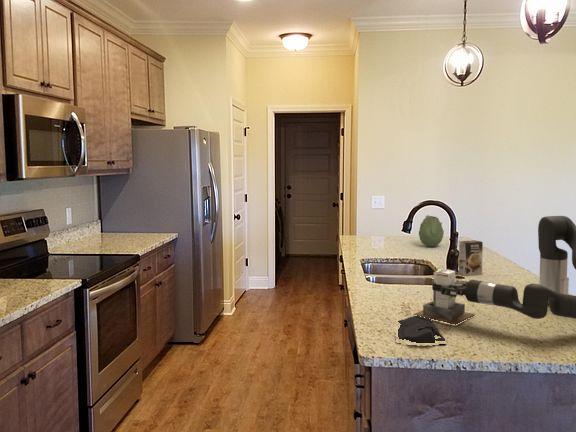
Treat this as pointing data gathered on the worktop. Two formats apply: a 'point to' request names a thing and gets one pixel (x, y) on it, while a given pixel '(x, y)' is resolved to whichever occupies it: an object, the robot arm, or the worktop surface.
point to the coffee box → (470, 257)
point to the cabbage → (431, 231)
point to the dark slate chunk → (418, 330)
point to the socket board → (445, 313)
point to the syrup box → (445, 279)
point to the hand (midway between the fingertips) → (437, 285)
